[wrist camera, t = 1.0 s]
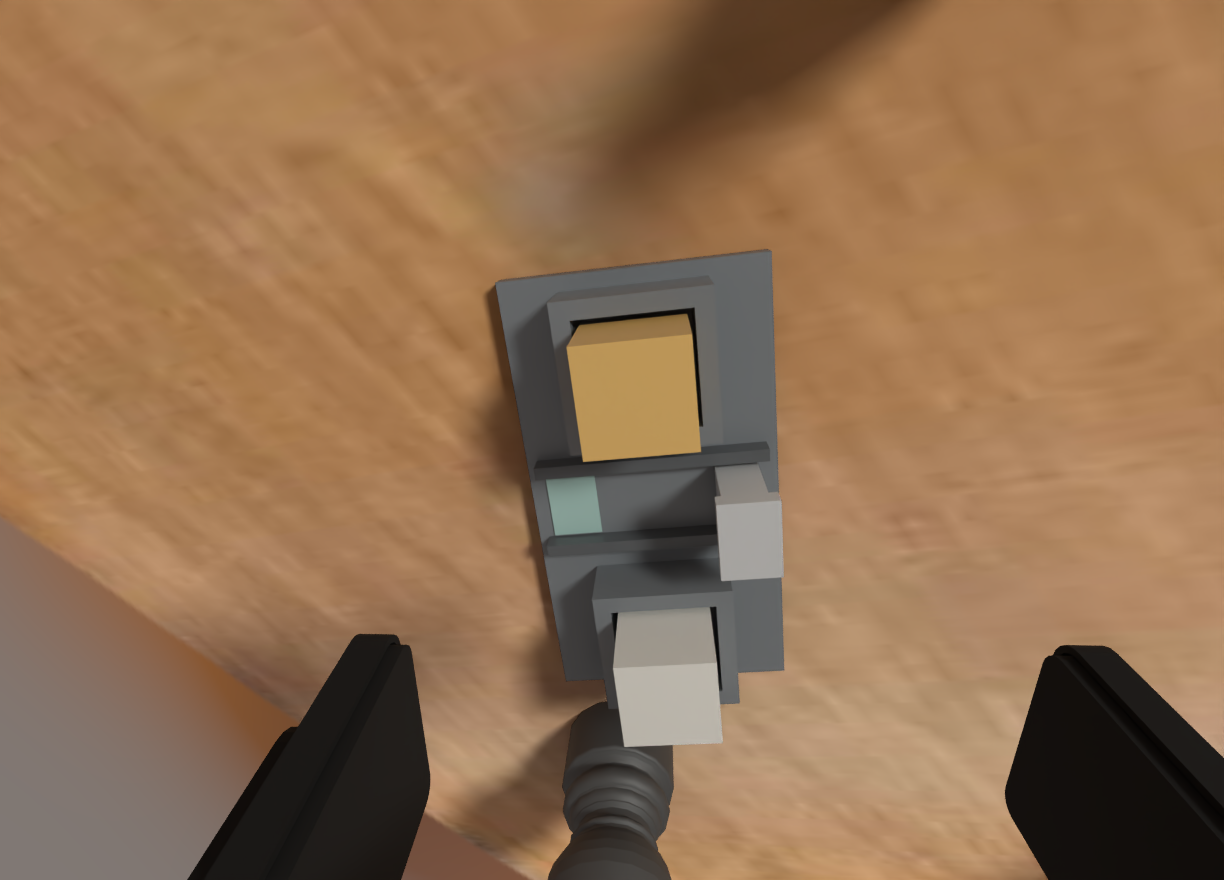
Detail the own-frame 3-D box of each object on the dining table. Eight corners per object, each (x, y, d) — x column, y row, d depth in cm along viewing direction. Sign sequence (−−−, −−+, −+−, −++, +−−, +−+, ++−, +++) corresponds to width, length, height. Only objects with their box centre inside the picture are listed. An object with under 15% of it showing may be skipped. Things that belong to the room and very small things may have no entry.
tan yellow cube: (687, 313, 26) (692, 334, 22) (694, 416, 28) (700, 451, 24) (579, 325, 26) (566, 346, 23) (593, 425, 28) (582, 461, 24)
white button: (709, 605, 31) (716, 662, 27) (715, 679, 32) (722, 743, 29) (618, 611, 31) (612, 668, 28) (628, 683, 33) (624, 746, 29)
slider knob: (763, 455, 30) (781, 500, 26) (766, 523, 32) (783, 577, 27) (707, 460, 31) (716, 505, 26) (712, 527, 32) (721, 581, 27)
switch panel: (767, 249, 28) (784, 257, 25) (780, 657, 36) (795, 712, 32) (500, 279, 29) (477, 292, 26) (568, 668, 37) (558, 722, 33)
